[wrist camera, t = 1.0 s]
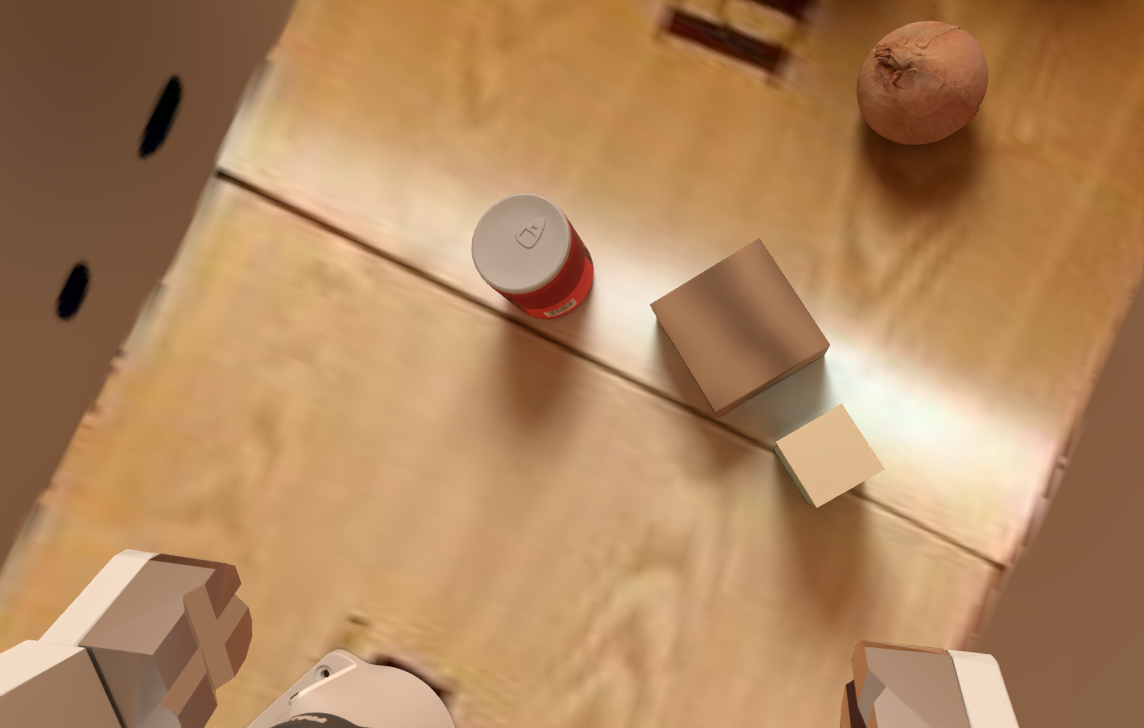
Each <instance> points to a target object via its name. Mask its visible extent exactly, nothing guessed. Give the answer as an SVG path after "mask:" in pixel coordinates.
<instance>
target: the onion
mask: <svg viewBox="0 0 1144 728" xmlns="http://www.w3.org/2000/svg"><path fill="white" fill-rule="evenodd" d="M987 84H988V68H987V63H986V59H985V56H984V54H983V51H982V49H981V47H980V46H979V44H978V42H977V41H976V40H975V39H974V38H973V37H972V36H971V35H970V34H969V33H967V32H966V31H964V30H962V29H960V27H959V26H955V25H951V24H947V23H943V22H936V21H924V22H915V23H911V24H907V25H905V26H903V27H900V28H898V29H896V30H894V31H892V32H891V33H889V34H888V35H886V36H885V37H884V38H883V39H882V40H880V41H879V42H878V43H877V44H876V45H875V46H874V47H873V48H872V50H871V51H870V52H869V53H868V55H867V57H866V59H865V61H864V63H863V65H862V67H861V70H860V72H859V77H858V82H857V98H858V104H859V108H860V111H861V113H862V116H863V117H864V119H865V121H866V122H867V123H868V125H869V126H870V127H871V128H872V129H873V130H874V131H875V132H876V133H878V134H879V135H881V136H882V137H884V138H886V139H889V140H891V141H893V142H897V143H901V144H909V145H920V144H927V143H932V142H935V141H939V140H941V139H944V138H946V137H948V136H949V135H951V134H953V133H955V132H958V131H959V130H960V129H961V128H962V127H963V126H965V125H966V124H967V123H968V122H969V121H970V120H971V119H972V118H973V117H974V116H975V115H976V113H977V112H978V111H979V105H980V104H981V103H982V101H983V98H984V96H985V93H986V90H987Z"/></svg>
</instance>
